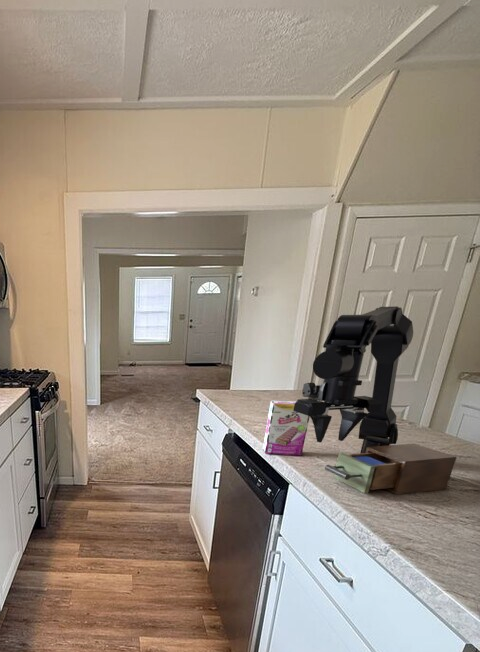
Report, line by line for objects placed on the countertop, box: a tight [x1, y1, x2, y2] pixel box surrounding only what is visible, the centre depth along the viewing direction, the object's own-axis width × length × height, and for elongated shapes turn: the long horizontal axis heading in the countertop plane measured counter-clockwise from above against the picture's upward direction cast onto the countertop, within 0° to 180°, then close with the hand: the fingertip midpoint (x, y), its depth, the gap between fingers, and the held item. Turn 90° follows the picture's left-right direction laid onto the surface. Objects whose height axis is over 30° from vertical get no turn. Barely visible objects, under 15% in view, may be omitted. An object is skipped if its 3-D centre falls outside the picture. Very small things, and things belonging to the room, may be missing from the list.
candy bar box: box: [262, 399, 310, 456], centre depth 126 cm, size 11×5×16 cm, turn 78°
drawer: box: [324, 452, 402, 494], centre depth 101 cm, size 18×10×7 cm, turn 100°
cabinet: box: [366, 443, 458, 495], centre depth 103 cm, size 15×12×9 cm
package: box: [354, 456, 386, 466], centre depth 101 cm, size 7×4×5 cm, turn 10°
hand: (329, 441), depth 96 cm, fingers open, 5 cm apart
